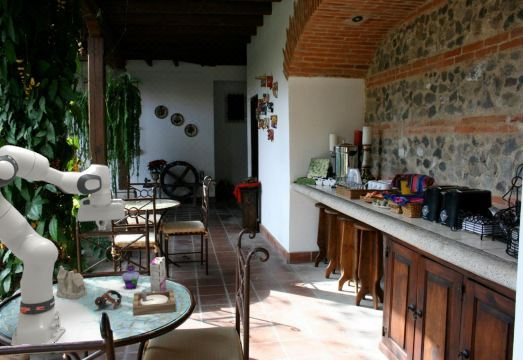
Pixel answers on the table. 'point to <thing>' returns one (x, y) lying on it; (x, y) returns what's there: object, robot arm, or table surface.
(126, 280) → the potion bottle
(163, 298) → the dial
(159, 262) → the candy bar box
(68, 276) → the ceramic cottage
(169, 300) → the square wooden tray
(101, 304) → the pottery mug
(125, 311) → the table surface
